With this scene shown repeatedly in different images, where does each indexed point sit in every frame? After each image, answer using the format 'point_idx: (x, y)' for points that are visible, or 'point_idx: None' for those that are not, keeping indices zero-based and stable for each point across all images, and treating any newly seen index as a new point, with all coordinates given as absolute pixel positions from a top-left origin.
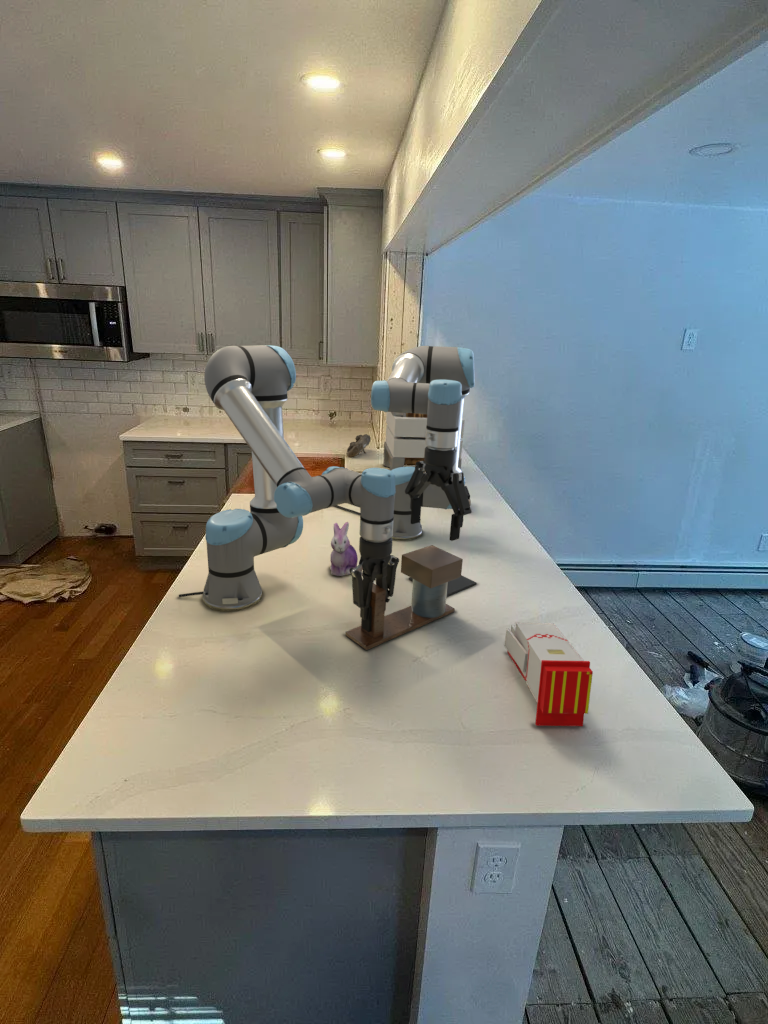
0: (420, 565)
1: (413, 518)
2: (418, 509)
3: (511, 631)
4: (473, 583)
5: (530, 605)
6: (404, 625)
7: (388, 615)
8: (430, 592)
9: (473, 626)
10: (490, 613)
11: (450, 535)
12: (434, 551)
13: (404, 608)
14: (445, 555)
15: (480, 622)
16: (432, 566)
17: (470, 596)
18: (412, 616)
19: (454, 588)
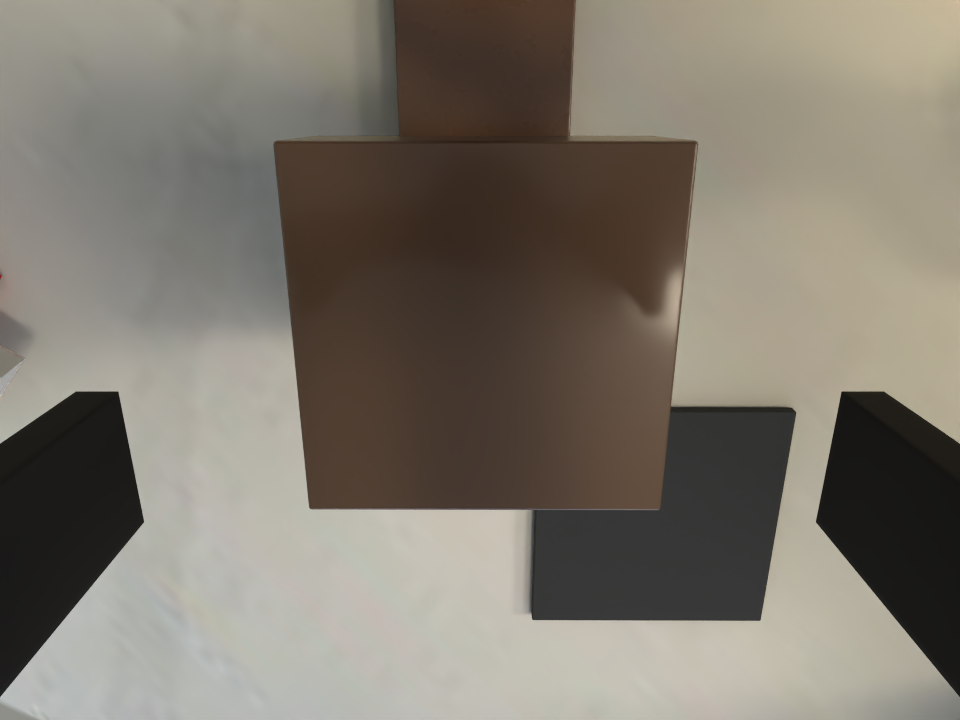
0: (430, 141)
1: (887, 440)
2: (952, 616)
3: (1, 357)
4: (535, 604)
5: (261, 645)
6: (430, 8)
7: (567, 7)
8: None
9: (259, 327)
10: (303, 472)
11: (61, 420)
12: (551, 435)
13: None
14: (437, 450)
15: (268, 379)
16: (330, 199)
17: (469, 516)
18: (476, 119)
19: None
